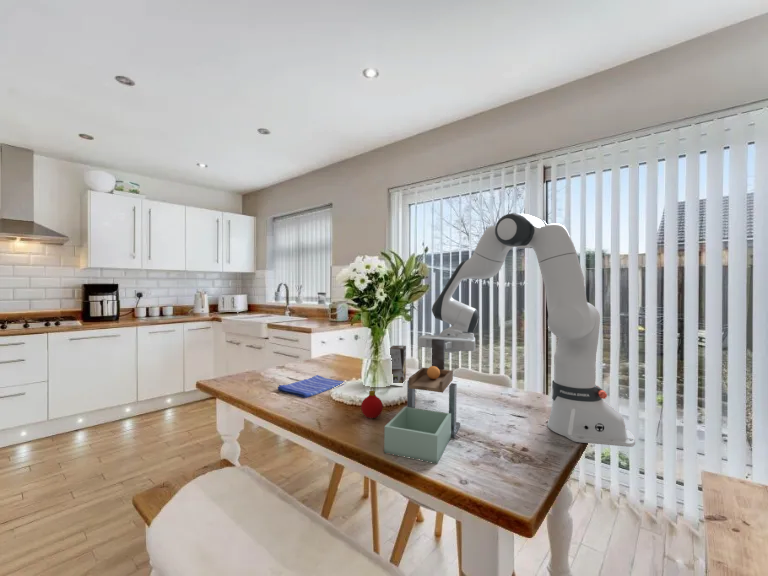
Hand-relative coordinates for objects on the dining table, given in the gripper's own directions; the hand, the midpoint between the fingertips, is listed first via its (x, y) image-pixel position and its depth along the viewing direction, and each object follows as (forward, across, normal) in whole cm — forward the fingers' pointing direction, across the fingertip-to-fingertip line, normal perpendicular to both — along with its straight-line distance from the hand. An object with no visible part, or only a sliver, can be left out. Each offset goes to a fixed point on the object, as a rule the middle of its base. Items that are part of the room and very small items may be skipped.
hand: (441, 346), depth 119 cm
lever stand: (+12, 0, +23) cm, 26 cm away
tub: (+25, 0, +23) cm, 34 cm away
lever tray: (+12, 0, +9) cm, 15 cm away
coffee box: (-27, -26, +23) cm, 44 cm away
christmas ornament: (+13, -20, +23) cm, 33 cm away
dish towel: (-7, -57, +24) cm, 62 cm away
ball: (+10, 0, +6) cm, 12 cm away
